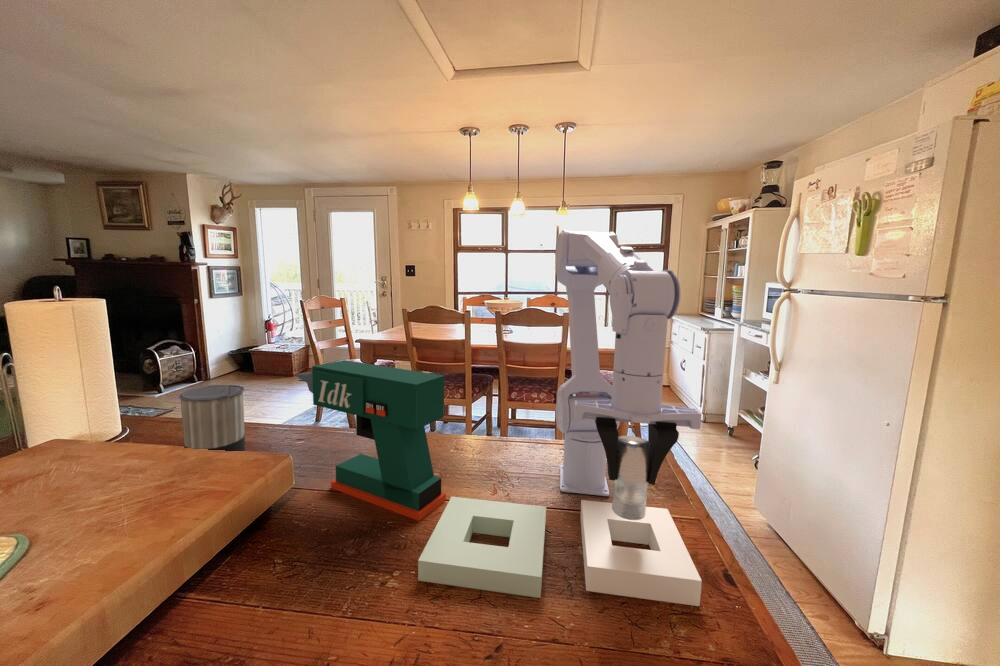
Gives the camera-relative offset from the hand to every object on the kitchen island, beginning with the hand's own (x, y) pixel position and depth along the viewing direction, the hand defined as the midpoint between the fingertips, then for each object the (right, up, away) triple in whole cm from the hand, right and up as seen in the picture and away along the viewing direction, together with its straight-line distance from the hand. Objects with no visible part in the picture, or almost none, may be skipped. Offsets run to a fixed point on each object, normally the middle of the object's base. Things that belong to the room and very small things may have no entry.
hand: (630, 478), depth 49 cm
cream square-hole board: (0, -10, +1) cm, 10 cm away
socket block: (-18, -10, +2) cm, 20 cm away
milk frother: (-69, -7, +17) cm, 71 cm away
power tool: (-41, -8, +17) cm, 45 cm away
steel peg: (0, -4, 0) cm, 4 cm away
